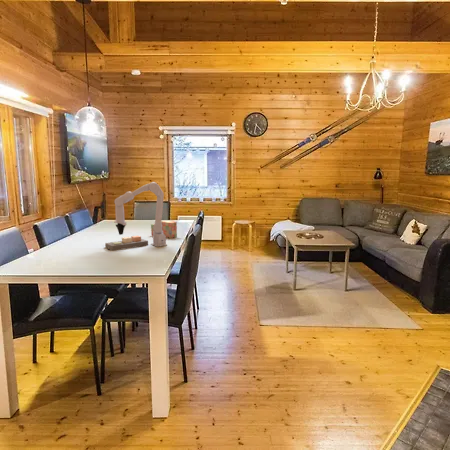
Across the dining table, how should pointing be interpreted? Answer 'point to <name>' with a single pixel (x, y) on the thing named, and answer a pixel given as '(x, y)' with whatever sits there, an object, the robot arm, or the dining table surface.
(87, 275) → the dining table surface
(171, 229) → the stack of blocks
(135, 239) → the terracotta key
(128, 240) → the cream key
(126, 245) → the board
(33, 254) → the dining table surface
